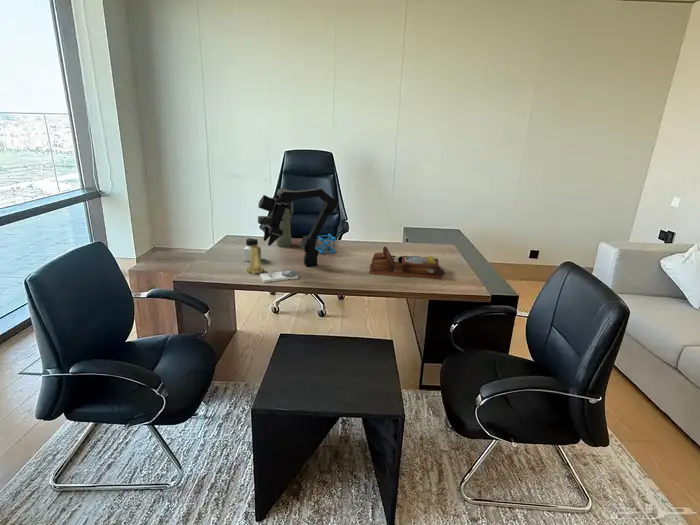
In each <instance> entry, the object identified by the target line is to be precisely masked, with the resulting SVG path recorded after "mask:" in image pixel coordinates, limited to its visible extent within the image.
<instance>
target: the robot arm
mask: <svg viewBox="0 0 700 525" xmlns="http://www.w3.org/2000/svg"><path fill="white" fill-rule="evenodd" d="M310 198H319V200H321V201H322V203H321V210H320V212H319V215H318V216H317V218H316V220H315V221H314V224H313V226H312V228H311V230H310V232H309V234H307V235H303V237H302V239H301V241H300V248H301V249H302V250H303V252H304V256H303V265H304V266H305V267H306V268H310V267H311V268H312V267H319V264H318V256H319V254H320V253H319V252H320V251H317V250H316V249H315V248H316V247H317V237H318V235H319V236H320V233H321V231H322V229H323V228H324V226H325V224H326V221H328V217H329V216H330V214H332V213H333V212H334V211H335V210H336V208H338V205H339V203H338V200H337V198H335V197H333V196H331V195H329V194H328V193H327V192H326V191H324V189H322V188H319V187H317V188H311V189H301V190H289V189H288V190H281V191H279V193H278V194H277V193H276V195H274V196H273V197H269V196H267V195H265V194H263V195H262V197H261V198H260V200H259V202H258V209H261V210H264V211H266V212H271V211H272V212H271V213H269V214H268V215H261V216H260V215H259V216H257V223H258V224H259V225H262V228H263V229H264V233H263V241H264V242H266V241H267V246H268V247H269V246H271V245H273V244H274V242H277V239H278V238H279V237H281V236H282V235H283V231H282V229H280V223H281V221H283V219H282V218H283V215H284V213H285V210H286V208H287V209H290V208H291V206H290V207H289V204H288V203H289V202H290V203H291V202H292V201H293V202H294V201H297V200H301V199H302V200H303V199H310ZM275 202H276V203H275ZM282 202H283V203H287V204H283V203H282ZM278 203H279V204H278Z"/></svg>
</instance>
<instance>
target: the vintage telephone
mask: <svg viewBox="0 0 700 525" xmlns="http://www.w3.org/2000/svg"><path fill="white" fill-rule="evenodd" d="M445 273H446V272H445V271H444V269H442V266H440V264H439V259H438V258H437V257H436V258H435V257H434V256H432V255H428V256H426V257H425V256H419V255H400V256H396V255H392V254H391V253H390V251H389V249H388V247H387V246H383V248H382V252H376V253H374V254H373V256H372V260H371V264H370V265H369V271H368V274H369V275H378V276H389V277H397V278H398V277H400V278H408V277H409V278H410V277H411V278H412V277H416V278H426V279H434V280H435V279H438V280H442V279H443V276H445V275H446V274H445Z"/></svg>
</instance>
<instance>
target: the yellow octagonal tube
mask: <svg viewBox="0 0 700 525" xmlns="http://www.w3.org/2000/svg"><path fill="white" fill-rule="evenodd" d="M249 262H250V264H249V266H248V267H247V268H246V271H247V274H252V275H255V274H262V273H263V272H262V271H264V272H265V267H264V266H263V265H262V264H261V262H262V261H261V259H260V252H259V245H258V246H256V245H255V246H251V253H250V261H249Z"/></svg>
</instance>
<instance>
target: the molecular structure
mask: <svg viewBox="0 0 700 525" xmlns="http://www.w3.org/2000/svg"><path fill="white" fill-rule="evenodd" d="M323 237H327V238H323ZM336 240H337V237H336V236H332V234H331V233H328V234H326V235H323V234H322V235H320V234H319V235H318V237H317V241H316V246H315V249H316V250H317V251H318V252H319V254H320V255H323V254H324V253H326V254H327V253H332V254H335V253H336V249H335V242H336ZM319 242H320V246H319ZM331 242H332V246H331ZM324 249H325V250H326V249H327V250H326V251H325V250H324Z"/></svg>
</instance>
